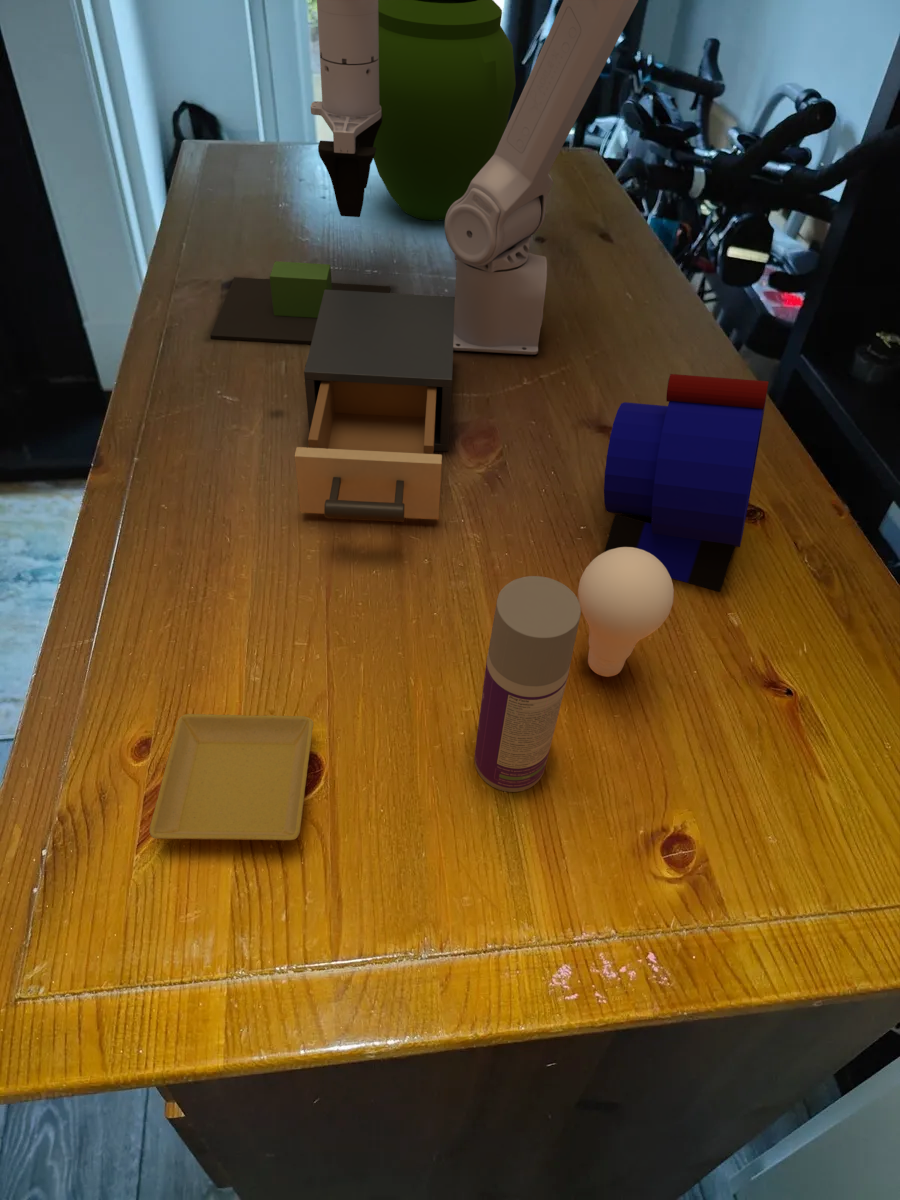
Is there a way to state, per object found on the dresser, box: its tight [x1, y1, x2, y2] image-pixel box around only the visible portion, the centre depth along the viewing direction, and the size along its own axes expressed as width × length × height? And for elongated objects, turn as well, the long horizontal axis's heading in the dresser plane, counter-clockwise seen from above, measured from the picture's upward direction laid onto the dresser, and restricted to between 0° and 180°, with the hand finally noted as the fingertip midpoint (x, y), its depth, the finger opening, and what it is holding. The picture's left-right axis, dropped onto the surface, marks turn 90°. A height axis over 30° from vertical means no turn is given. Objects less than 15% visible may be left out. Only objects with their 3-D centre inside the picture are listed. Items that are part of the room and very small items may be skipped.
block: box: [269, 260, 333, 318], centre depth 91 cm, size 6×4×4 cm, turn 89°
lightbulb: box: [577, 547, 675, 678], centre depth 57 cm, size 6×6×11 cm
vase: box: [373, 0, 517, 221], centre depth 105 cm, size 20×20×24 cm
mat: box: [209, 276, 391, 345], centre depth 93 cm, size 18×13×1 cm
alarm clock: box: [603, 373, 770, 593], centre depth 66 cm, size 12×12×15 cm
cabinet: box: [303, 290, 455, 452], centre depth 79 cm, size 15×13×8 cm
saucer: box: [148, 713, 314, 841], centre depth 52 cm, size 9×9×2 cm
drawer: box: [294, 380, 443, 523], centre depth 70 cm, size 18×11×6 cm, turn 179°
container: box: [474, 575, 582, 793], centre depth 50 cm, size 5×5×15 cm
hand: (354, 200), depth 92 cm, fingers open, 7 cm apart
